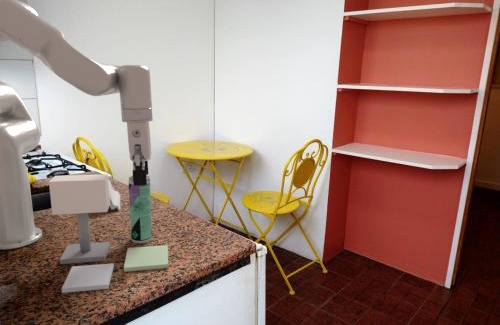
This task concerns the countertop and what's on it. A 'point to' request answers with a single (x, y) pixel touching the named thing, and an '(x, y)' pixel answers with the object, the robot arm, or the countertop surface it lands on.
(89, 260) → the mounted unit
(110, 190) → the white bevelled plastic case
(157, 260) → the green tile
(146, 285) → the countertop surface
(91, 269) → the grey square tile
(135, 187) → the spray can
